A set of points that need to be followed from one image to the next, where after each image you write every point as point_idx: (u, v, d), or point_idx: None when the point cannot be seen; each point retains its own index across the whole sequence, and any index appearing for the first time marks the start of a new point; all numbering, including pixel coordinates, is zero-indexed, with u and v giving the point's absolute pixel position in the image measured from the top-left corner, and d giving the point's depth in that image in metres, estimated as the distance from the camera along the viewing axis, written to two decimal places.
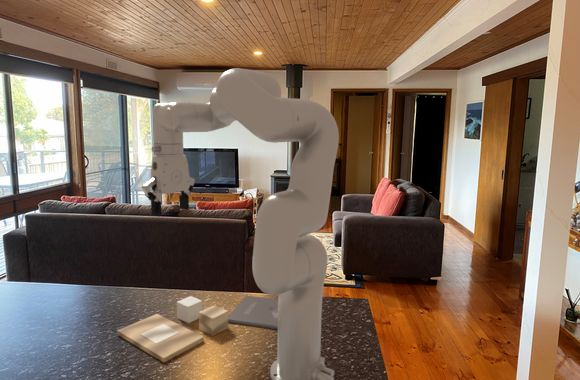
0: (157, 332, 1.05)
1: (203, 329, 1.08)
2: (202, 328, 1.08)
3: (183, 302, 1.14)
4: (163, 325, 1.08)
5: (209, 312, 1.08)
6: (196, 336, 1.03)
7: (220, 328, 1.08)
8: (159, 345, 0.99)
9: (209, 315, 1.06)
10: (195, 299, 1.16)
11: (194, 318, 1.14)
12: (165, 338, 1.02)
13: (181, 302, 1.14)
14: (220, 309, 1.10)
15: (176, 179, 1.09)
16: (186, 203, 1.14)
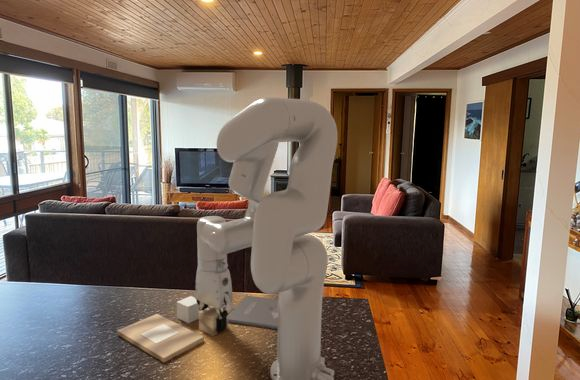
0: (157, 332, 1.05)
1: (203, 329, 1.08)
2: (202, 328, 1.08)
3: (183, 302, 1.14)
4: (163, 325, 1.08)
5: (209, 312, 1.08)
6: (196, 336, 1.03)
7: None
8: (159, 345, 0.99)
9: (209, 315, 1.06)
10: (195, 299, 1.16)
11: (194, 318, 1.14)
12: (165, 338, 1.02)
13: (181, 302, 1.14)
14: (220, 309, 1.10)
15: None
16: None
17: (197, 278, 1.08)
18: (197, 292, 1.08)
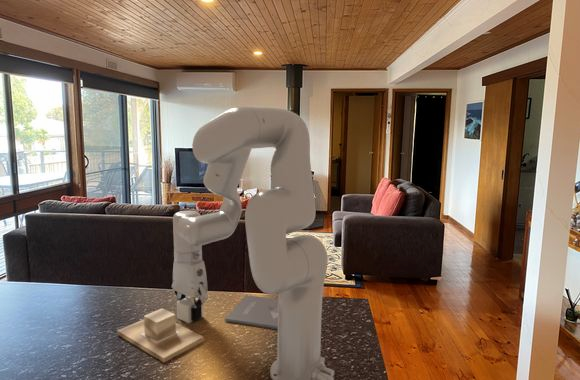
0: None
1: (148, 334, 1.02)
2: (147, 333, 1.03)
3: (183, 302, 1.14)
4: None
5: (155, 316, 1.03)
6: (196, 336, 1.03)
7: (166, 333, 1.02)
8: (159, 345, 0.99)
9: (154, 319, 1.01)
10: (195, 299, 1.16)
11: None
12: (165, 338, 1.02)
13: (181, 302, 1.14)
14: (167, 312, 1.05)
15: None
16: None
17: (174, 269, 1.14)
18: (174, 283, 1.14)
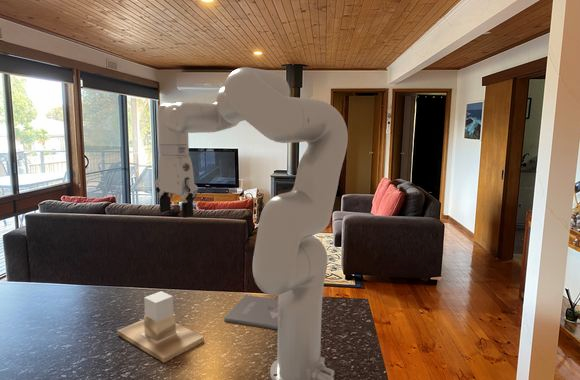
0: None
1: (148, 334, 1.02)
2: (147, 333, 1.03)
3: (151, 298, 1.01)
4: None
5: None
6: (196, 336, 1.03)
7: (166, 333, 1.02)
8: (159, 345, 0.99)
9: None
10: (165, 294, 1.04)
11: (163, 316, 1.01)
12: (165, 338, 1.02)
13: (149, 298, 1.02)
14: None
15: None
16: (170, 204, 1.14)
17: (159, 167, 1.08)
18: (160, 182, 1.09)
